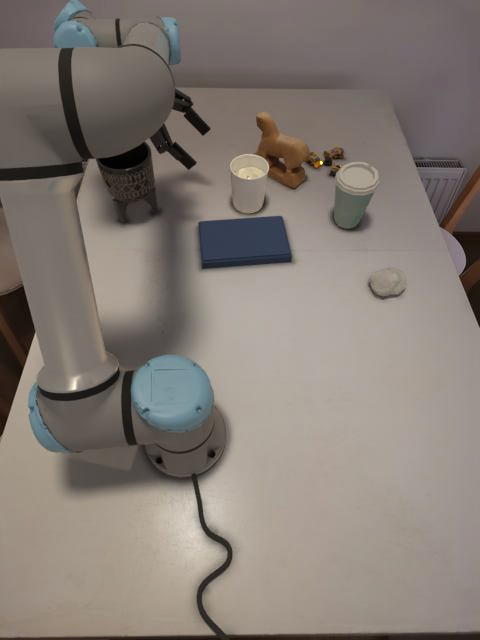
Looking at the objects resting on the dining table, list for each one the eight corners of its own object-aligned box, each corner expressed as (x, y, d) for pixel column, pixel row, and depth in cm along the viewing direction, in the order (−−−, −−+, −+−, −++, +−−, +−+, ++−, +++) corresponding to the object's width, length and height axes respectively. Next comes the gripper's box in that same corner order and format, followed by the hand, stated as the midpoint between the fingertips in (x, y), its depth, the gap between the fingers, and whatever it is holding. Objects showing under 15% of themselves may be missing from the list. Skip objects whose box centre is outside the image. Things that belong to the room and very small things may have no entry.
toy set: (359, 163, 128) (363, 149, 124) (335, 181, 123) (338, 166, 119) (327, 145, 132) (330, 131, 128) (303, 161, 128) (305, 147, 124)
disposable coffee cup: (347, 240, 111) (362, 194, 98) (316, 218, 115) (327, 171, 102) (373, 221, 115) (390, 175, 102) (342, 200, 119) (356, 153, 106)
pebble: (377, 268, 106) (383, 254, 102) (408, 283, 103) (415, 269, 99) (361, 290, 102) (367, 277, 98) (393, 307, 99) (400, 294, 95)
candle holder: (222, 204, 117) (221, 167, 107) (245, 186, 121) (247, 148, 111) (250, 221, 114) (252, 184, 104) (273, 202, 118) (277, 165, 108)
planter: (165, 196, 118) (156, 138, 104) (155, 229, 111) (144, 172, 97) (119, 192, 119) (103, 134, 104) (106, 225, 112) (87, 168, 97)
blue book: (291, 261, 106) (292, 255, 104) (202, 268, 105) (201, 262, 103) (281, 221, 114) (282, 215, 112) (198, 227, 112) (198, 221, 110)
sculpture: (261, 155, 129) (264, 106, 117) (307, 179, 124) (315, 131, 111) (247, 165, 127) (249, 116, 114) (294, 190, 121) (301, 142, 108)
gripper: (136, 59, 101) (202, 127, 112) (96, 119, 87) (175, 189, 98) (155, 37, 96) (222, 110, 107) (115, 96, 82) (197, 173, 93)
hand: (200, 148), depth 103 cm, fingers open, 13 cm apart
